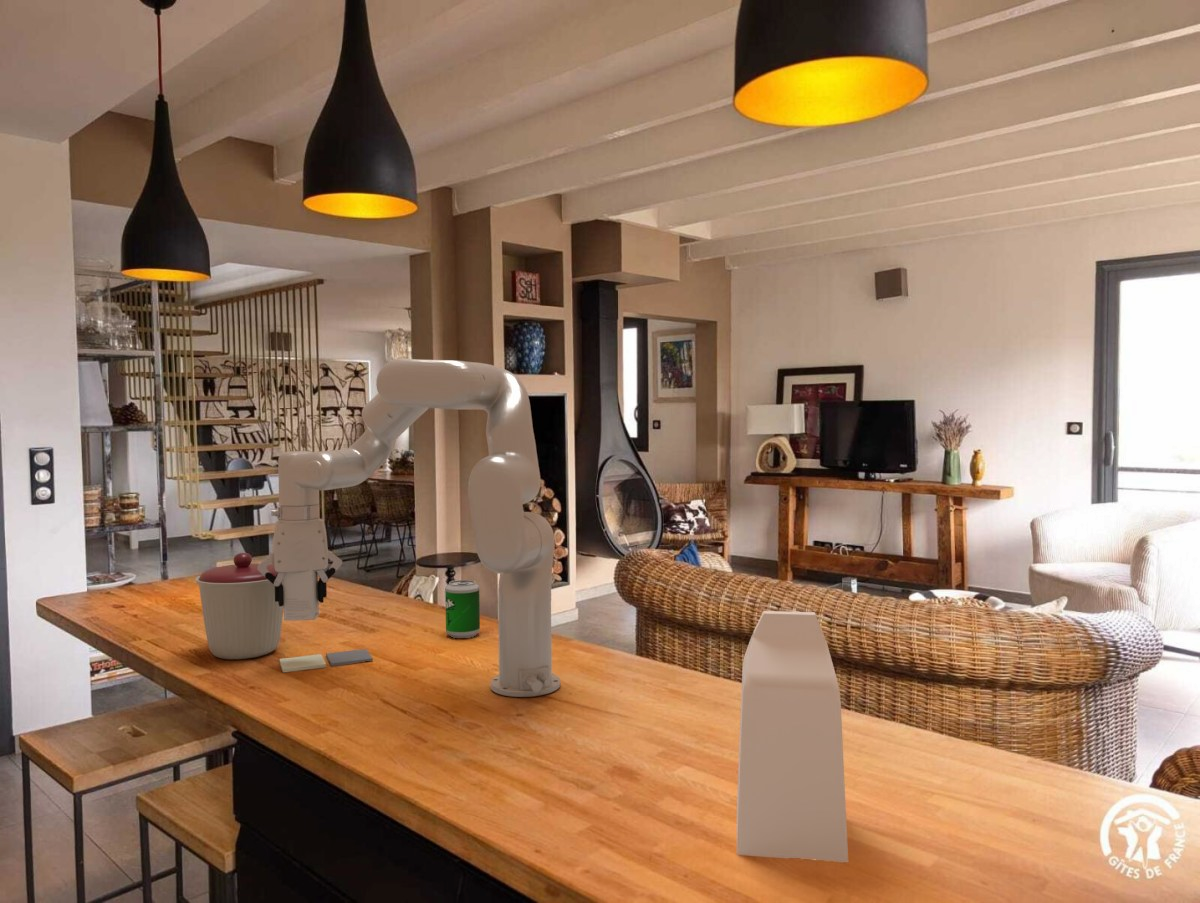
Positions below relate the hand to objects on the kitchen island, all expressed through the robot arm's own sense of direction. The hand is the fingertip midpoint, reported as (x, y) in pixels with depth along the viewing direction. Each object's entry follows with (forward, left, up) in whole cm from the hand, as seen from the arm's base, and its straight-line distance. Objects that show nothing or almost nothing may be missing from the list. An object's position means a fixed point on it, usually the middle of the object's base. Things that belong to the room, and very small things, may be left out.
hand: (301, 602), depth 170 cm
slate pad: (0, -9, -12) cm, 15 cm away
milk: (-98, -44, -13) cm, 108 cm away
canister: (+14, +10, -13) cm, 21 cm away
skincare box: (0, 0, -3) cm, 3 cm away
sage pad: (0, 0, -12) cm, 12 cm away
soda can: (+8, -35, -13) cm, 38 cm away
